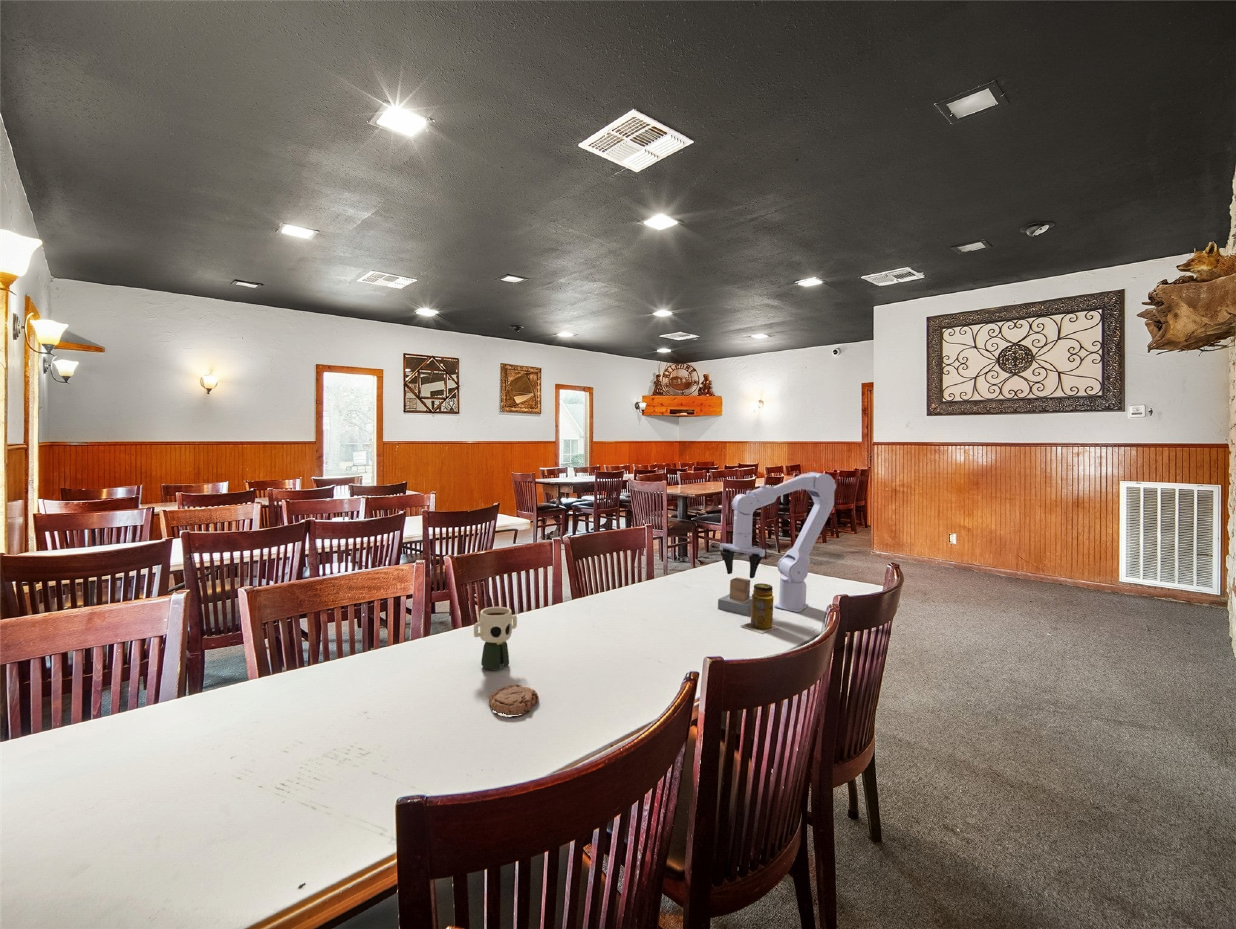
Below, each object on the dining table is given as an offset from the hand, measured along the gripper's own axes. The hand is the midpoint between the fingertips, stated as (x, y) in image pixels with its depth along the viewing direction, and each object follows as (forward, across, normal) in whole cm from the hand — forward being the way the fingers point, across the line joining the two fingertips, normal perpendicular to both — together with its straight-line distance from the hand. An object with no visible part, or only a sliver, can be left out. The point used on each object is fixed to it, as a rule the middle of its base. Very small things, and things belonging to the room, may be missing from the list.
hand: (740, 575), depth 185 cm
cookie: (+11, -6, -90) cm, 91 cm away
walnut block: (+7, 0, 0) cm, 7 cm away
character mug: (+11, -23, -80) cm, 84 cm away
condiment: (+11, +12, -13) cm, 20 cm away
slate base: (+10, 0, 0) cm, 10 cm away
